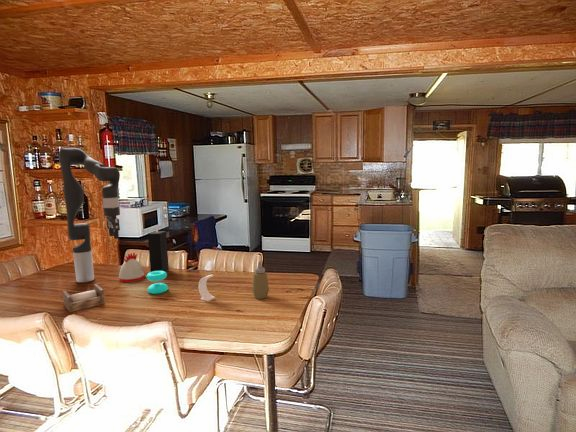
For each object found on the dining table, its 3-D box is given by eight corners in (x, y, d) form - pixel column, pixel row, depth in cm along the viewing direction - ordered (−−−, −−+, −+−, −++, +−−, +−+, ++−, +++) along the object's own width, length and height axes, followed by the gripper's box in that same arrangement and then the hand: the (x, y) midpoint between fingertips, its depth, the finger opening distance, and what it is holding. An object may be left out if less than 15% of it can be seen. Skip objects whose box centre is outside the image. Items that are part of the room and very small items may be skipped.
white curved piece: (208, 301, 179) (206, 277, 177) (199, 299, 182) (197, 275, 180) (214, 298, 182) (213, 274, 181) (205, 296, 186) (204, 272, 184)
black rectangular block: (162, 274, 225) (159, 228, 221) (150, 273, 227) (146, 228, 223) (169, 270, 233) (165, 225, 229) (157, 269, 234) (154, 225, 230)
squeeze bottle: (271, 295, 185) (270, 259, 182) (265, 301, 177) (264, 264, 175) (256, 293, 187) (255, 258, 185) (249, 299, 180) (248, 262, 177)
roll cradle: (69, 312, 169) (67, 297, 168) (64, 305, 178) (62, 291, 177) (104, 303, 179) (103, 289, 178) (97, 297, 188) (96, 283, 187)
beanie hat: (149, 277, 220) (147, 252, 218) (129, 283, 209) (126, 257, 206) (135, 273, 228) (133, 249, 225) (114, 280, 216) (111, 254, 214)
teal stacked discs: (170, 272, 193) (152, 276, 186) (171, 290, 195) (153, 296, 188) (160, 268, 200) (142, 273, 193) (162, 286, 202) (144, 291, 194)
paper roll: (72, 307, 173) (71, 296, 172) (69, 303, 177) (68, 293, 176) (98, 301, 180) (97, 291, 179) (95, 297, 184) (94, 288, 183)
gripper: (99, 205, 195) (102, 236, 198) (107, 208, 184) (110, 240, 187) (115, 204, 200) (117, 234, 202) (123, 206, 189) (126, 238, 191)
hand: (114, 237), depth 194 cm, fingers open, 8 cm apart
